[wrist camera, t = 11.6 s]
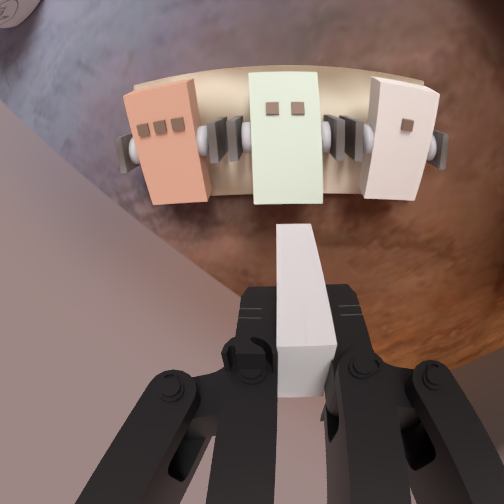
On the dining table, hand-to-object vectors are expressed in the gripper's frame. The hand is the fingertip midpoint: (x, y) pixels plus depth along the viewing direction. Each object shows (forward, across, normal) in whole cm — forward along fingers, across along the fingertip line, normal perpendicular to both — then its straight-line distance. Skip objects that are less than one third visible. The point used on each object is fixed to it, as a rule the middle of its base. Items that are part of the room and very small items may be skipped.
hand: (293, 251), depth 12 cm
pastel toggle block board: (+15, 0, +4) cm, 16 cm away
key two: (+11, 0, +3) cm, 12 cm away
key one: (+11, +9, +4) cm, 15 cm away
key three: (+11, -9, +4) cm, 15 cm away
